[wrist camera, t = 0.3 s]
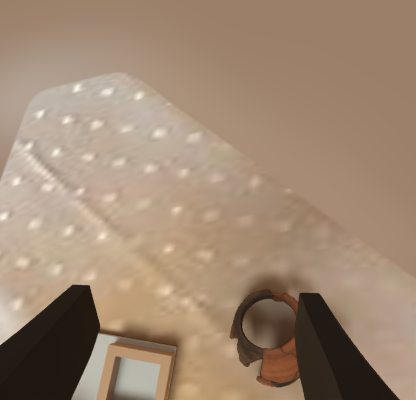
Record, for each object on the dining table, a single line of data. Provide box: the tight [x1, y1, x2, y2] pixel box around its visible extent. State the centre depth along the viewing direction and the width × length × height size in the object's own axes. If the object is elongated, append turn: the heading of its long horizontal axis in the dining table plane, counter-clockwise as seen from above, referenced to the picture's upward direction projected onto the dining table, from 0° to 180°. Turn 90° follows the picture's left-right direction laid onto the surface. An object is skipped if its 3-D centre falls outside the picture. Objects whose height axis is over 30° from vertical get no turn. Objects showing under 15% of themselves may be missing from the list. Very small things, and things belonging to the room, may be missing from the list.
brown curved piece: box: [230, 290, 300, 387], centre depth 36 cm, size 12×10×8 cm
